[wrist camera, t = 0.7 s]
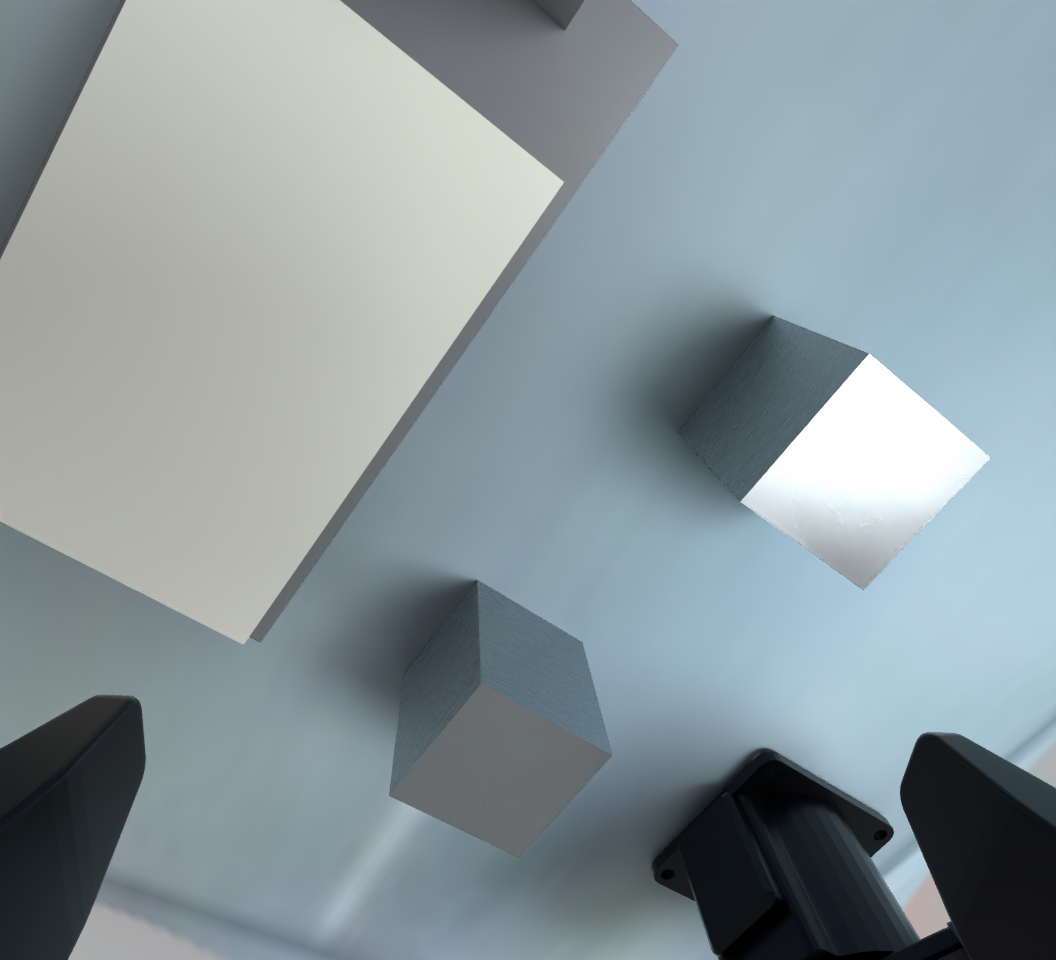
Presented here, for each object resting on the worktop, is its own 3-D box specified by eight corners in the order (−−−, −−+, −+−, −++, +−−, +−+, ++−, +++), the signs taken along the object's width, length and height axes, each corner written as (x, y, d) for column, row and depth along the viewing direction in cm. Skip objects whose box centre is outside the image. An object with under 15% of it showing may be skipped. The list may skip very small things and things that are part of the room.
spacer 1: (582, 641, 23) (612, 755, 18) (507, 728, 24) (518, 857, 19) (477, 579, 22) (481, 683, 17) (403, 673, 23) (389, 795, 18)
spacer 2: (872, 398, 21) (991, 457, 16) (777, 505, 22) (863, 590, 17) (773, 315, 20) (869, 353, 15) (677, 432, 21) (740, 501, 16)
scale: (649, 64, 17) (809, -44, 9) (282, 593, 21) (177, 828, 13) (308, -245, 15) (128, -755, 7) (-31, 425, 19) (-386, 593, 11)
